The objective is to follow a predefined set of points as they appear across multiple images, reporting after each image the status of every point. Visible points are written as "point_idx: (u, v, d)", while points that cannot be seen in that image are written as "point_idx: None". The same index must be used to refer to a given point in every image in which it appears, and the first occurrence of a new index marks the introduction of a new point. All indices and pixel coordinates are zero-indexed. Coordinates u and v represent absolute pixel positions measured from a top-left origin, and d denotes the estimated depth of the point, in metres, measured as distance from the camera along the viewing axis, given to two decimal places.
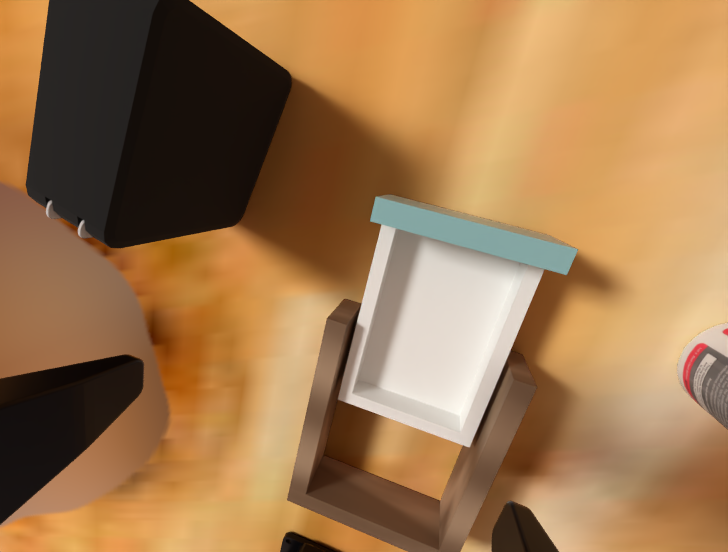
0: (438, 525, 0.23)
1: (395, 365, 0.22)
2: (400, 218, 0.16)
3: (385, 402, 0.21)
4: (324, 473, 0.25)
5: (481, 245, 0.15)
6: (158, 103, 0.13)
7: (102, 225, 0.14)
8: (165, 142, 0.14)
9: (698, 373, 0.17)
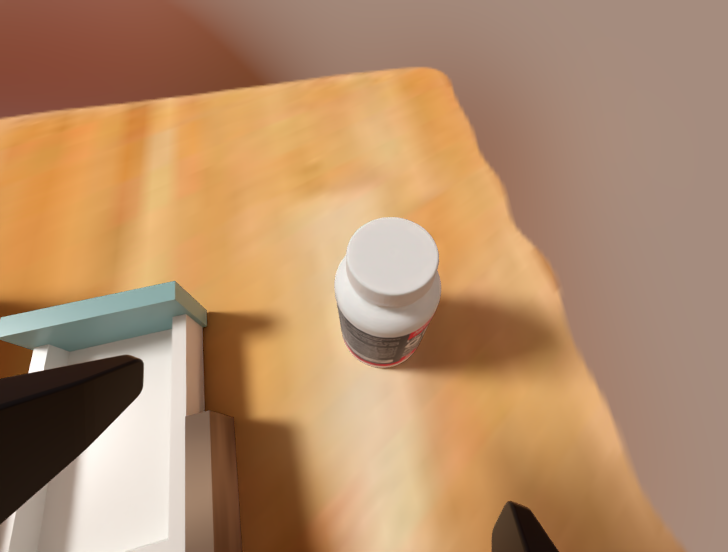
0: None
1: (85, 515, 0.17)
2: (26, 322, 0.18)
3: None
4: None
5: (102, 310, 0.19)
6: None
7: None
8: None
9: (343, 336, 0.21)
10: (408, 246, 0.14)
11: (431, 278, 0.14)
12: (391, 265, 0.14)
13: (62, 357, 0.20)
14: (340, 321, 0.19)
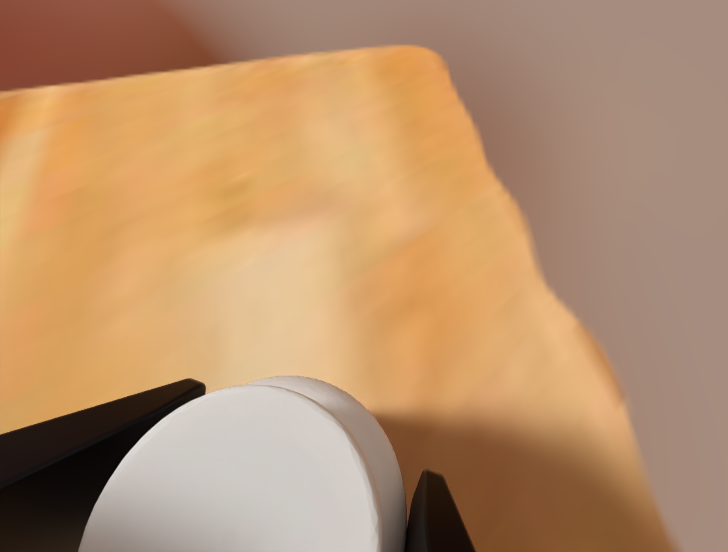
0: None
1: None
2: None
3: None
4: None
5: None
6: None
7: None
8: None
9: None
10: (285, 507, 0.05)
11: None
12: None
13: None
14: None
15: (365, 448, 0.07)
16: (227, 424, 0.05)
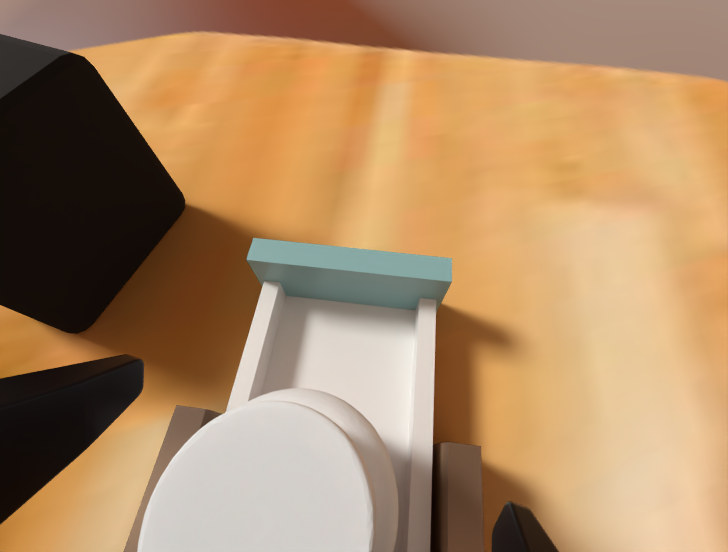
0: None
1: None
2: (279, 253, 0.15)
3: None
4: None
5: (364, 267, 0.15)
6: (30, 119, 0.13)
7: None
8: (20, 159, 0.13)
9: None
10: (301, 500, 0.06)
11: None
12: None
13: (282, 300, 0.18)
14: None
15: (364, 452, 0.08)
16: (253, 433, 0.06)
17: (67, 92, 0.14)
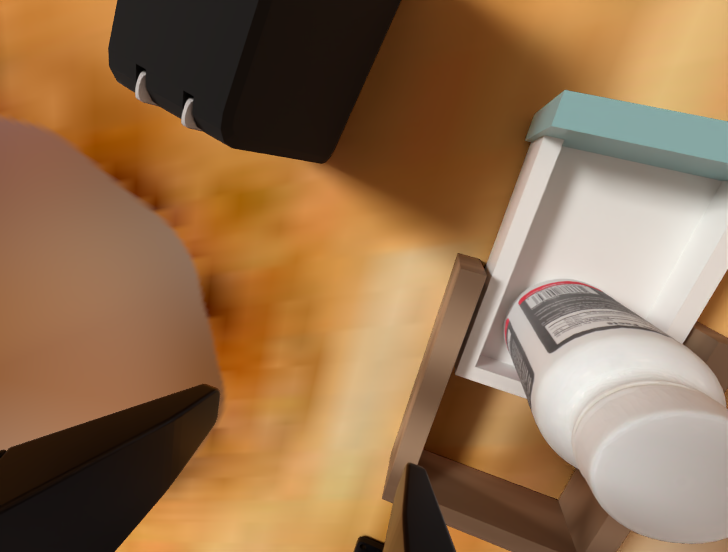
0: (567, 529, 0.19)
1: None
2: (598, 119, 0.12)
3: (517, 377, 0.17)
4: None
5: (717, 151, 0.11)
6: None
7: (221, 102, 0.09)
8: None
9: (509, 351, 0.17)
10: (719, 479, 0.08)
11: None
12: (668, 500, 0.08)
13: None
14: (515, 363, 0.15)
15: None
16: (689, 433, 0.08)
17: None
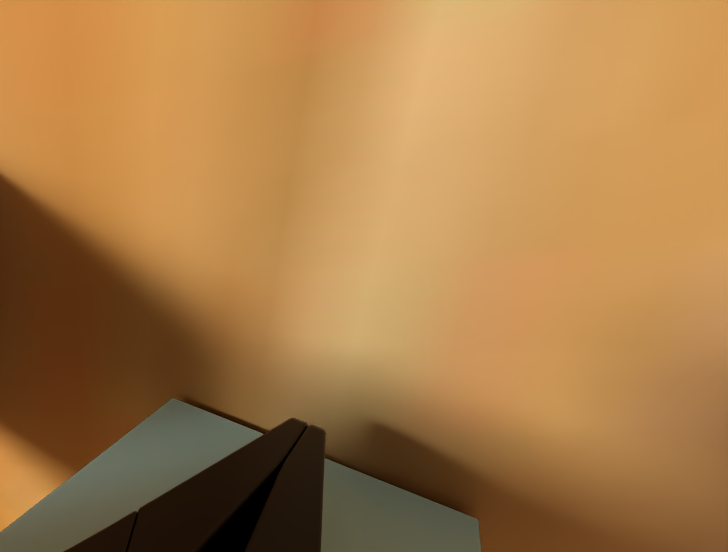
0: None
1: None
2: None
3: None
4: None
5: None
6: None
7: None
8: None
9: None
10: None
11: None
12: None
13: None
14: None
15: None
16: None
17: None
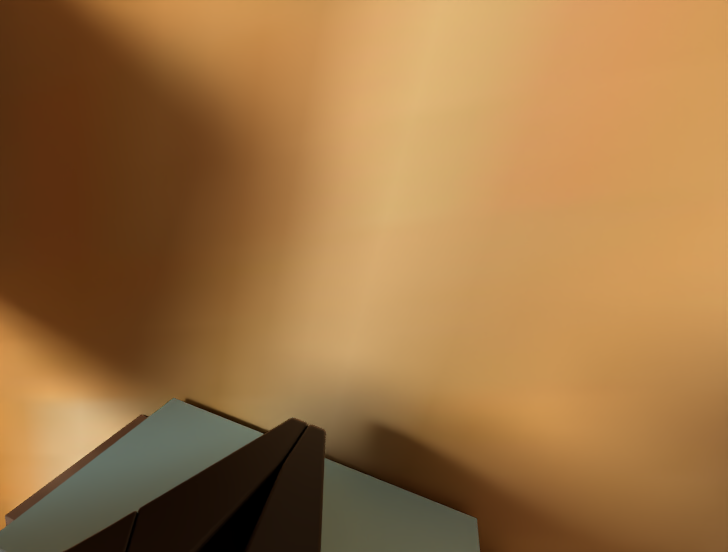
0: None
1: None
2: None
3: None
4: None
5: None
6: None
7: None
8: None
9: None
10: None
11: None
12: None
13: None
14: None
15: None
16: None
17: None
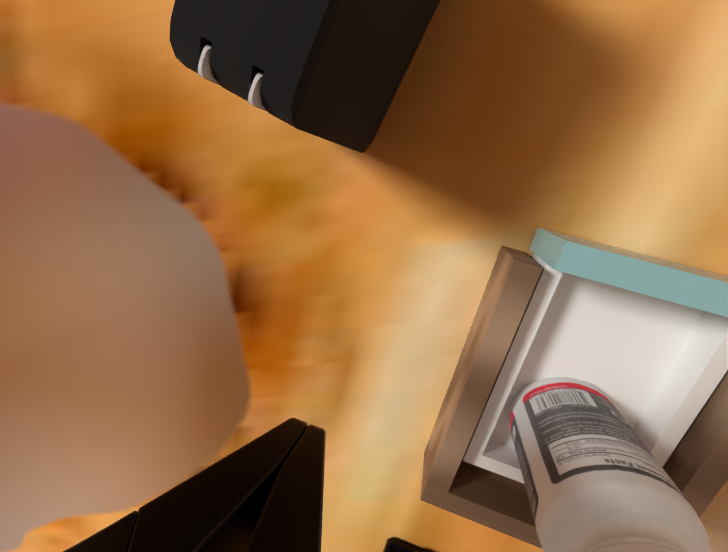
0: None
1: None
2: (597, 267, 0.13)
3: None
4: None
5: (704, 303, 0.13)
6: None
7: (294, 76, 0.09)
8: None
9: (514, 445, 0.18)
10: None
11: None
12: None
13: None
14: (520, 466, 0.16)
15: None
16: None
17: None
